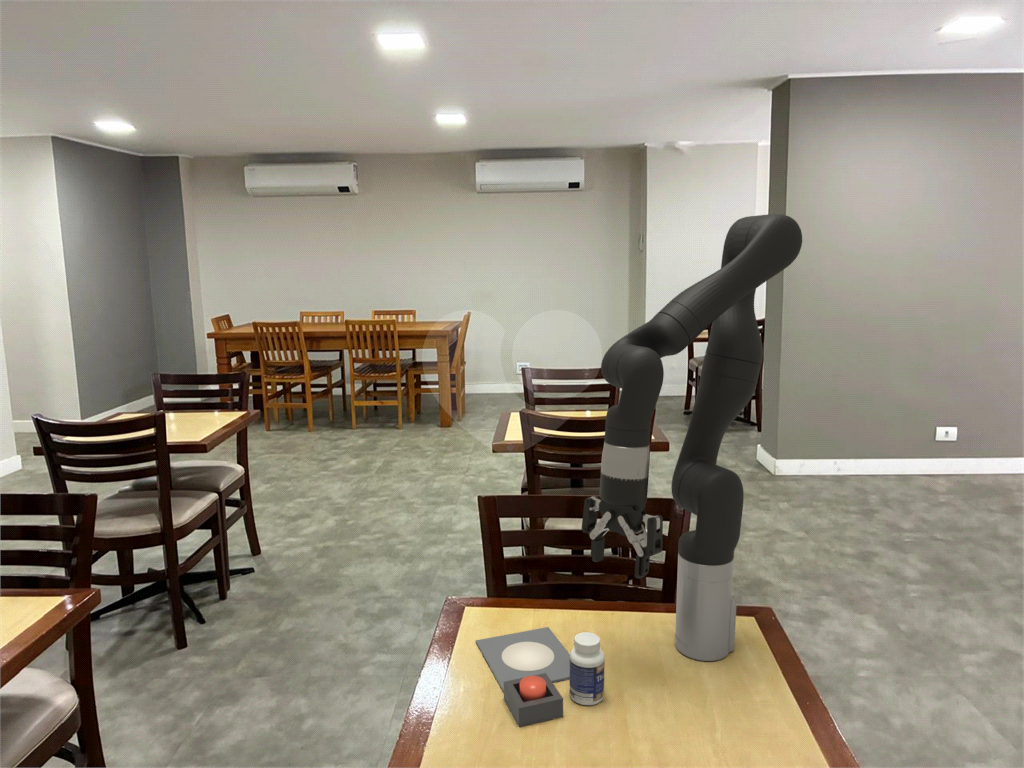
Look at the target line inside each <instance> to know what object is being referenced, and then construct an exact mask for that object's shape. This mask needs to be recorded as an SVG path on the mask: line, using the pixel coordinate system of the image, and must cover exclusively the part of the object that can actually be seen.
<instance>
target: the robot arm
mask: <svg viewBox="0 0 1024 768" xmlns="http://www.w3.org/2000/svg"><path fill="white" fill-rule="evenodd" d="M802 244H803V233H802V229H801V227H800V224H799V223H798V222H797V221H796V219H794V218H792V217H791V216H789V215H787V214H780V213H770V214H760V215H749V216H744V217H740V218H739V219H737V220H735V222H733V224H731V226H730V227H729V229H728V231H727V233H726V236H725V239H724V243H723V248H722V255H721V264H720V269H718V270H717V271H715V272H714V273H711V274H709V275H708V276H706V277H704V278H702V279H701V280H699V281H697V282H695V283H694V284H692V285H690V286H689V287H687V288H685V289H684V290H682V291H681V292H680V293H678V294H677V295H676V296H674V297H673V298H672V299H671V300H670V301H669V302H668V303H667V304H666V305H664V307H663V308H661V310H659V311H658V312H657V313H656V314H655V315H654V316H653V317H652V318H651V319H650V320H649V321H647V322H646V323H644V324H642V325H640V326H638V327H636V328H635V329H633V330H632V331H630V332H629V333H627V334H626V335H624V336H623V337H621V338H620V339H618V340H617V341H615V342H614V343H613V344H612V345H611V346H610V347H609V348H608V350H607V351H606V352H605V354H604V355H603V358H602V360H601V363H600V364H601V366H600V371H601V374H602V375H601V376H602V378H603V379H604V380H605V381H606V382H607V383H608V384H609V385H611V386H613V387H616V388H620V389H621V393H620V395H619V396H620V397H619V401H618V404H614V405H612V406H610V407H609V408H608V410H607V411H606V417H605V428H604V442H603V449H602V454H601V464H600V465H601V467H600V482H599V496H598V495H593V496H590V497H587V498H585V499H584V501H583V502H584V503H583V511H582V521H581V532H582V533H584V534H587V535H589V538H590V539H591V543H590V556H591V557H592V558H591V559H592V561H593V562H595V563H599V562H602V561H604V559H605V545H606V544H605V542H606V538H605V537H604V536H605V535H606V534H607V533H608V532H611V533H617V534H618V535H620V536H623V537H626V538H627V540H628V542H629V543H630V544H632V546H633V548H634V550H635V552H636V554H637V555H635V563H634V564H635V565H634V578H636V579H639V580H641V579H643V578H644V577H646V576H647V575H648V574H649V573H650V562H651V561H650V560H651V557H652V556H656V555H658V554H660V553H662V552H663V540H664V539H663V531H664V530H663V529H664V527H663V526H664V524H663V523H664V518H663V516H662V515H661V514H657V515H651V514H647V512H646V503H647V502H648V501H647V500H648V495H649V494H648V491H649V477H650V463H651V456H650V441H651V440H650V439H651V438H650V437H651V428H652V427H651V426H652V425H651V424H652V423H651V421H652V417H653V414H654V412H655V409H656V407H657V402H658V400H659V397H660V393H661V391H662V387H663V384H664V383H663V382H664V378H665V377H664V376H665V373H664V365H663V361H662V358H665V357H669V356H670V357H671V356H676V355H678V354H679V353H681V352H683V351H684V350H685V349H686V348H687V347H689V345H690V344H691V343H693V342H694V341H695V339H697V338H698V337H699V336H700V335H701V334H702V333H703V332H704V331H705V330H706V329H707V328H708V327H709V326H710V325H711V327H710V333H709V337H708V341H707V345H706V350H705V353H704V356H703V357H704V358H703V362H702V367H701V370H700V376H699V383H698V387H697V393H696V397H695V399H694V400H695V401H694V403H693V407H692V412H691V416H690V419H689V420H690V421H689V424H688V427H687V431H686V434H685V436H684V440H683V443H682V446H681V450H680V453H679V455H678V458H677V461H676V465H675V468H674V472H673V475H672V479H671V495H672V498H673V500H674V502H675V504H676V505H677V506H678V507H680V508H681V509H683V510H686V511H687V512H689V513H691V514H693V515H695V516H696V523H695V529H694V530H688V531H687V532H684V533H682V534H681V535H680V537H679V539H678V545H677V546H678V550H677V551H678V553H677V575H676V576H677V577H676V578H677V579H676V580H677V581H676V583H677V584H676V606H675V607H676V609H675V610H676V611H675V633H674V637H675V638H674V647H675V648H676V649H677V651H678V652H679V653H681V654H682V655H684V656H686V657H687V658H690V659H693V660H697V661H701V662H702V661H703V662H713V661H714V662H715V661H720V660H722V659H725V658H726V657H727V656H728V655H729V653H730V652H734V651H735V641H736V638H735V637H736V622H737V621H736V620H737V619H736V618H737V599H736V598H735V597H733V583H734V582H733V580H734V559H735V550H736V548H737V546H738V543H739V540H740V538H741V537H740V535H741V527H742V519H743V518H742V517H743V511H744V510H743V508H744V499H745V498H744V497H745V495H744V486H743V485H744V484H743V482H742V480H741V478H740V476H739V475H738V474H737V473H736V472H734V471H733V470H731V469H728V468H726V467H724V466H720V465H718V464H717V461H718V455H719V452H720V451H719V450H720V448H721V443H722V441H723V438H724V436H725V434H726V432H727V430H728V429H729V427H730V426H731V425H732V423H733V422H734V421H735V419H737V417H738V416H739V415H740V413H742V411H743V410H744V409H745V408H746V406H747V405H748V403H749V402H750V401H751V399H752V398H753V396H754V394H755V393H756V392H755V391H756V389H757V384H758V380H759V377H760V376H759V375H760V372H761V367H762V366H761V365H762V364H763V363H762V362H763V357H764V348H763V342H762V337H761V332H760V328H759V325H758V322H757V317H756V313H755V312H756V311H755V298H756V297H755V295H756V290H757V288H759V287H760V286H762V285H763V284H764V283H766V282H768V281H769V280H771V279H772V278H773V277H775V276H776V275H778V274H779V273H781V272H783V271H784V270H785V269H787V268H788V267H789V266H790V265H792V263H794V261H796V259H797V258H798V256H799V254H800V252H801V249H802V246H803V245H802ZM599 512H600V514H601V518H600V519H599V520H598V515H599ZM643 524H644V525H645V526H644V525H643ZM635 533H637V534H638V535H636V534H635Z"/></svg>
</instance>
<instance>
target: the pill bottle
mask: <svg viewBox="0 0 1024 768" xmlns="http://www.w3.org/2000/svg"><path fill="white" fill-rule="evenodd" d="M573 646H574V647H573V648H571V651H570V652H569V654H570V679H569V697H570V698H571V700H572V701H573V702H575V703H577V704H579V705H582V706H583V705H584V706H594V705H596V704H599V703H601V702H602V701H603V699H604V696H605V665H606V663H605V660H606V659H605V653H604V652H603V650H602V649H601V637H600V636H599V635H597V634H596V633H593V632H589V631H588V632H587V631H584V632H583V631H582V632H579V633H577V634H576V635H575V636H574V643H573Z"/></svg>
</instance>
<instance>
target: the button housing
mask: <svg viewBox="0 0 1024 768" xmlns="http://www.w3.org/2000/svg"><path fill="white" fill-rule="evenodd" d="M534 676H539V677H541V678H543V679H544V680H545V681H546V698H541V699H537V700H532V701H527V702H524V701H523V700H522V699H521V698H520V681H521V679H522V678H519V679H514V680H510V681H505V682H504V693H503V701H504V702H505V704H506V706H507V708H508V710H509V712H510V713H511V715H512V716H513V719H514V721H515V722H516V724H517V726H518V727H519V728H520V727H525V726H528V725H529V726H530V725H533V724H538V723H541V722H547V721H550V720H555V719H560V718H564V697H563V695H561V693H560V692H559V690H558V689H557V687H556V686H555V685H554V683H552V681H551V680H550V678H549V677H548V676H547V674H546V673H543V674H538V675H534Z"/></svg>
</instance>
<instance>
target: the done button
mask: <svg viewBox="0 0 1024 768" xmlns="http://www.w3.org/2000/svg"><path fill="white" fill-rule="evenodd" d="M520 698H521V699H522V700H523V701H524V702H527V701H532V700H537V699H541V698H546V681H545V680H544V679H543V678H541V677H539V676H527V677H524V678H522V679H521V681H520Z"/></svg>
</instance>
